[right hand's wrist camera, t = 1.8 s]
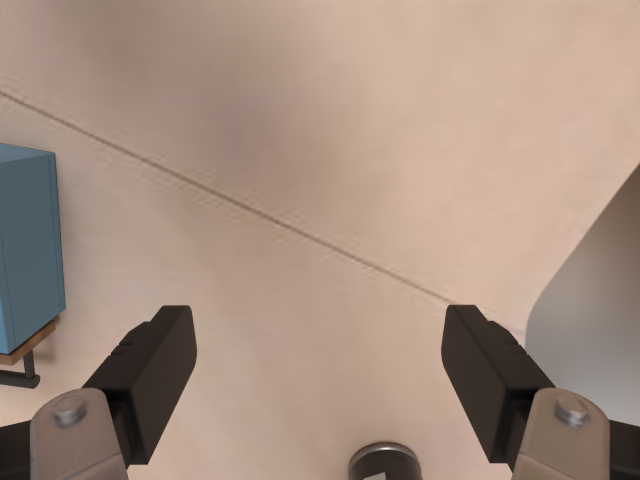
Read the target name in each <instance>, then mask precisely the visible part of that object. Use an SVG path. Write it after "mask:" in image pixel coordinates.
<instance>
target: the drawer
mask: <svg viewBox="0 0 640 480" xmlns="http://www.w3.org/2000/svg"><path fill="white" fill-rule="evenodd" d="M54 330H55V320H50V321H49V322H48V323H47V324H45V325H44V326H43V327H42V328H40V329H39V330H38V331H37V332H35V333H34V334H33V335H32V336H30V337H29V338H28V339H27V340H25V341H24V342H23V343H22V344H20V345H19V346H18V347H17V348H15V349H14V350H13V351H11V352H10V353H9V354H5V353H0V364H4V365H11V366H13V365H14V364H15V363H16V362H17V361H19V360H20V359H21V358H22V357H23V359H24V367H25V373H20V372H13V371H6V370H0V384H2V385H9V386H16V387H23V388H31V389H34V388H36V387H37V385H38V384H39V382H40V376H39V375H35V369H34V360H33V351H32V349H33V348H34V347H35V346H36V345H37V344H39V343H40V342H41V341H42V340H43V339H44V338H46V337H47V336H48V335H49V334H50V333H52V332H53V331H54Z"/></svg>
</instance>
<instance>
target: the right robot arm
mask: <svg viewBox="0 0 640 480" xmlns="http://www.w3.org/2000/svg"><path fill="white" fill-rule="evenodd" d="M441 356H442V362H443V366H444V368H445V370H446V372H447V375H448V377H449V379H450V381H451V383H452V385H453V387H454V389H455V391H456V393H457V396H458V398H459V400H460V402H461V404H462V406H463V408H464V410H465V412H466V414H467V417H468V419H469V421H470V423H471V425H472V427H473V429H474V431H475V433H476V436H477V438H478V440H479V442H480V444H481V446H482V448H483V450H484V452H485V454H486V457H487V459H488V461H489V463H507V464H508V466H509V467H510V469H511V471H512V473H513V475H512V479H511V480H640V427H639V426H634V425H630V424H626V423H621V422H617V421H613V420H609V419H608V418H607V417H606V415H605V414H604V413H603V411H602V410H601V409H600V408H599V407H598V406H596V405H595V404H594V403H592V402H591V401H590V400H588V399H586V398H585V397H583V396H581V395H579V394H576V393H574V392H571V391H568V390H564V389H560V388H556V387H555V385H554V384H553V383H552V382H551V381H550V380H549V378H548V377H547V376H546V375H545V374H544V372H543V371H542V370H541V369H540V368H539V366H538V365H537V364H536V363H535V362H534V360H533V359H532V358H531V357H530V356H529V355H527V354H526V351H525V350H524V349H523V347H522V346H521V345H519V344H518V341H517V340H516V339H515V338H514V337H513V336H512V334H511V333H510V332H509V331H508V330H507V329H505V328H503V327H502V326H500V325H499V324H497V323H496V322H494V321H487V319H486V318H485V317H484V316H483V314H482V313H481V312H480V310H479V309H478V308H477V307H476V306H475V305H449V306H448V307H447V310H446V317H445V324H444V331H443V338H442V346H441ZM196 358H197V345H196V338H195V331H194V324H193V317H192V311H191V308H190V306H188V305H164V306H162V307H161V308H160V310H159V311H158V312H157V313H156V315H155V316H154V317H153V318H152V320H151V321H150V322H143V323H142V324H140V325H138V326H137V327H135V328H134V329H132V330H131V331H129V332H128V333H127V335H126V336H125V337H124V338H123V339H122V341H121V342H120V343H119V346H116V348H115V349H114V350H113V351H112V352H111V356H108V357H107V358H106V359H105V361H104V362H103V363H102V364H101V365H100V366H99V368H98V369H97V370H96V371H95V372H94V374H93V375H92V376H91V377H90V378H89V379H88V381H87V382H86V383H85V384H84V385H83V386H82V388H80V389H76V390H72V391H69V392H66V393H64V394H61V395H59V396H57V397H55V398H54V399H52V400H50V401H49V402H48V403H46V404H45V405H44V406H42V407H41V408H40V409H39V410H38V411H37V412H36V414H35V415H34V417H33V418H32V420H29V421H25V422H21V423H17V424H12V425H8V426H4V427H0V480H129V479H128V475H127V469H128V467H129V465H148V463H149V461H150V458H151V456H152V454H153V452H154V450H155V448H156V446H157V444H158V442H159V440H160V438H161V436H162V434H163V432H164V429H165V427H166V425H167V423H168V421H169V419H170V417H171V415H172V413H173V411H174V409H175V407H176V405H177V402H178V400H179V398H180V396H181V394H182V392H183V390H184V388H185V386H186V384H187V382H188V380H189V378H190V375H191V373H192V371H193V369H194V367H195V363H196ZM349 478H350V480H423V478H422V474H421V468H420V464H419V461H418V458H417V456H416V455H415V454H414V453H413V452H412V451H411V450H410V449H408V448H407V447H405V446H402V445H400V444H396V443H377V444H373V445H370V446H367V447H365V448H363V449H362V450H360V451H359V452H358V453H356V454H355V455H354V457H353V458H352V460H351V462H350V465H349Z"/></svg>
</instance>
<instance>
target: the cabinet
mask: <svg viewBox="0 0 640 480" xmlns="http://www.w3.org/2000/svg"><path fill="white" fill-rule="evenodd" d="M64 309H65V297H64V283H63V268H62V254H61V239H60V225H59V210H58V196H57V181H56V167H55V153H52V152H46V151H41V150H35V149H30V148H24V147H19V146H13V145H8V144H2V143H0V353H5V354H9V353H10V352H11V351H13V350H14V349H15V348H17V347H18V346H19V345H20V344H22V343H23V342H24V341H25V340H27V339H28V338H29V337H30V336H32V335H33V334H34V333H35V332H37V331H38V330H39V329H40V328H42V327H43V326H44V325H45V324H47V323H48V322H49V321H50V320H52V319H53V318H54V317H55V316H57V315H58V314H59V313H60V312H62V311H63V310H64Z"/></svg>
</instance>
